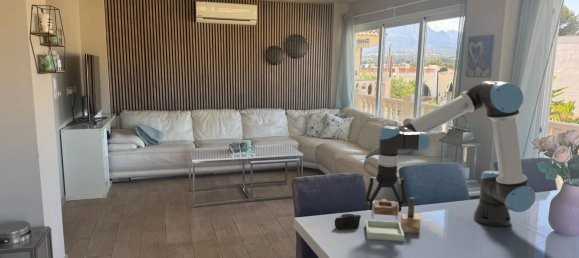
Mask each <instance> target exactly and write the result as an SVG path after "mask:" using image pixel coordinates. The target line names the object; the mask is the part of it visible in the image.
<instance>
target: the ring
mask: <svg viewBox="0 0 579 258" xmlns="http://www.w3.org/2000/svg"><path fill="white" fill-rule="evenodd" d="M374 203H375V204H374V215H382V216H394V217H395V216H398V217H399V212H398V207H397V205H396V203H397V202H396V201H394V200H387V199H386V198H381V200H380V199H379V200H377V199H374Z"/></svg>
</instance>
